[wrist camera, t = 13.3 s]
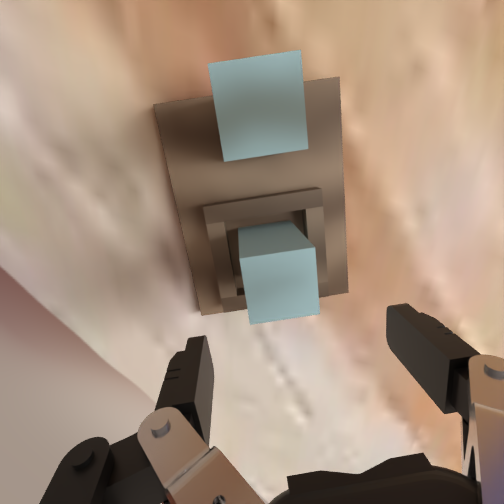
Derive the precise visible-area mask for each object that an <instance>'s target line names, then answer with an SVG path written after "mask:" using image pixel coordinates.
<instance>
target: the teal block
mask: <svg viewBox="0 0 504 504" xmlns="http://www.w3.org/2000/svg"><path fill="white" fill-rule="evenodd" d="M238 239H239V259H240V265H241V271H242V278H243V284H244V290H245V296H246V302H247V309H248V315H249V321H250V325H251V324H258V323H265V322H271V321H278V320H284V319H291V318H297V317H304V316H310V315H317V314H320V309H319V294H318V280H317V266H316V252H315V247H314V246H313V244H312V243H311V242H310V241H309V240H308V239H307V238H306V237H305V236H304V235H303V234H302V233H301V232H300V230H299V229H298V228H297V227H296V226H295V225H294V224H293V223H292V222H291V221H290V220H288V221H281V222H274V223H268V224H261V225H254V226H247V227H241V228H238Z"/></svg>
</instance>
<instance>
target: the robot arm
mask: <svg viewBox="0 0 504 504" xmlns="http://www.w3.org/2000/svg"><path fill="white" fill-rule="evenodd" d="M386 338H387V342H388V345H389V347H390V349H391V351H392V352H393V353H394V354H395V356H396V357H397V358H398V359H399V360H400V362H401V363H402V364H403V365H404V366H405V368H406V369H407V370H408V371H409V372H410V374H411V375H412V376H413V377H414V378H415V380H416V381H417V382H418V383H419V384H420V386H421V387H422V388H423V389H424V390H425V392H426V393H427V394H428V395H429V396H430V398H431V399H432V400H433V401H434V402H435V404H436V405H437V406H438V407H439V408H440V410H441V411H442V412H443V413H444V414H448V413H454V412H458V413H459V414H460V415H461V416H462V418H461V451H462V474H461V473H458V472H456V471H453V470H450V469H447V468H443V467H438V466H432V465H431V464H430V462H429V461H428V459H427V458H426V456H425V455H424V453H419V454H413V455H407V456H401V457H396V458H390V459H388V460H386V461H384V462H382V463H380V464H379V465H377V466H375V467H373V468H371V469H369V470H367V471H365V472H363V473H361V474H349V473H340V472H330V471H315V472H309V473H304V474H298V475H292V476H287V481H288V488H289V489H288V490H286V491H284V492H283V493H281V494H280V495H278V496H277V497H275V498H274V499H273V500H272V501H271V502H270V503H269V504H504V359H503V358H500V357H496V356H492V355H481V354H480V353H479V352H477V351H476V350H475V349H474V348H472V347H471V346H470V345H469V344H467V343H466V342H465V341H463V340H462V339H461V338H460V337H458V336H457V335H456V334H453V332H452V331H451V330H449V329H448V328H447V327H445V326H444V325H443V324H442V323H440V322H439V321H438V320H437V319H435V318H433V317H431V316H429V315H427V314H424V313H419V312H417V311H416V310H415V309H414V308H412V307H411V306H410V305H409V304H407V303H404V304H398V305H392V306H388V307H387V318H386ZM213 387H214V369H213V363H212V358H211V354H210V350H209V345H208V341H207V337H206V336H205V335H204V336H198V337H192V338H188V340H187V344H186V349H185V351H180V352H177V353H176V354H175V355H174V356H173V358H172V359H171V360H170V362H169V365H168V368H167V373H166V375H165V378H164V381H163V385H162V388H161V391H160V394H159V398H158V401H157V404H156V408H155V411H154V412H152V413H151V414H150V415H148V416H147V417H146V418H145V419H144V421H143V422H142V423H141V425H140V427H139V429H138V432H137V433H135V434H134V435H132V436H130V437H127V438H125V439H123V440H121V441H119V442H116V443H114V444H112V445H109V443H108V441H107V440H106V439H105V438H102V437H94V438H90V439H88V440H85V441H83V442H81V443H80V444H78V445H77V446H75V447H74V448H73V449H72V450H70V451H69V452H68V453H67V455H66V456H65V457H64V458H63V459H62V461H61V463H60V464H59V466H58V468H57V470H56V472H55V474H54V476H53V478H52V480H51V482H50V484H49V486H48V488H47V490H46V492H45V494H44V495H43V497H42V499H41V501H40V503H39V504H160V503H162V504H265V503H264V502H263V501H262V500H261V498H260V497H259V496H258V495H257V494H256V492H255V491H254V490H253V489H252V488H251V486H250V485H249V484H248V483H247V482H246V481H245V479H244V478H243V477H242V476H241V475H240V473H239V472H238V471H237V470H236V469H235V467H234V466H233V465H232V464H231V463H230V462H229V460H228V459H227V458H226V457H225V456H224V454H223V453H222V452H221V451H220V450H219V449H218V448H217V447H215V446H213V447H212V448H211V449H210V448H209V438H210V425H211V412H212V399H213Z"/></svg>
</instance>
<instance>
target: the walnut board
mask: <svg viewBox="0 0 504 504" xmlns="http://www.w3.org/2000/svg"><path fill="white" fill-rule="evenodd" d="M208 69H209V74H210V80H211V86H212V92H213V96H206V97H200V98H193V99H186V100H180V101H173V102H166V103H160V104H153V105H154V109H155V114H156V118H157V123H158V127H159V131H160V136H161V140H162V144H163V149H164V153H165V158H166V162H167V166H168V171H169V175H170V180H171V184H172V188H173V193H174V197H175V201H176V206H177V210H178V215H179V219H180V223H181V228H182V232H183V236H184V241H185V245H186V250H187V254H188V258H189V263H190V267H191V271H192V276H193V280H194V285H195V289H196V293H197V298H198V302H199V306H200V311H201V315H202V316H203V315H210V314H216V313H222V312H224V313H225V312H231V311H237V310H244V309H247V302H246V296H245V290H244V284H243V278H242V271H241V265H240V259H239V239H238V228H241V227H247V226H254V225H261V224H268V223H274V222H281V221H288V220H290V221H291V222H292V223H293V224H294V225H295V226H296V227H297V228H298V229H299V230H300V232H301V233H302V234H303V235H304V236H305V237H306V238H307V239H308V240H309V241H310V242H311V243H312V244H313V246H314V247H315V252H316V266H317V280H318V294H319V298H320V297H326V296H330V295H336V294H342V293H349V292H348V268H347V244H346V220H345V196H344V172H343V148H342V124H341V100H340V77H333V78H326V79H320V80H313V81H306V82H303V72H302V59H301V50H296V51H290V52H283V53H276V54H270V55H263V56H256V57H249V58H243V59H236V60H229V61H222V62H216V63H209V64H208Z"/></svg>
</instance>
